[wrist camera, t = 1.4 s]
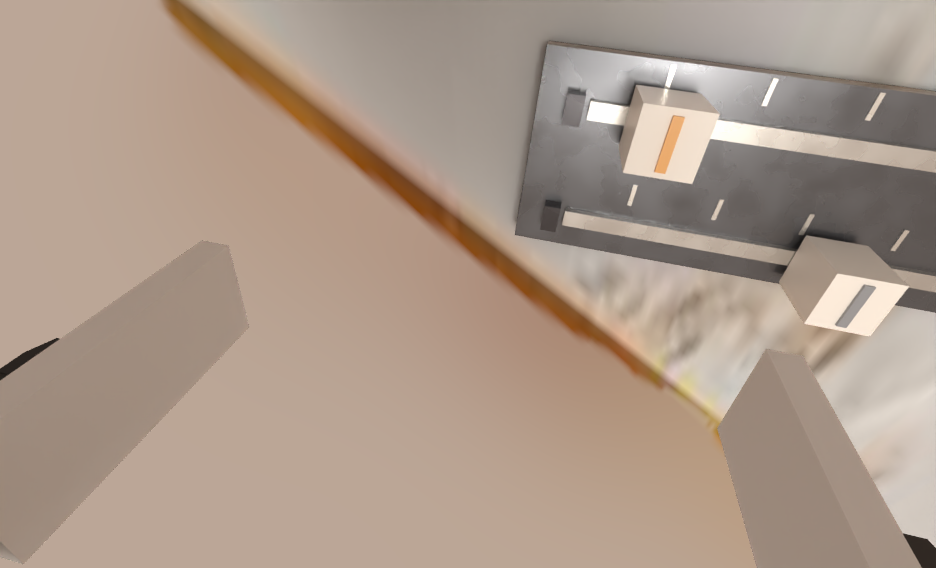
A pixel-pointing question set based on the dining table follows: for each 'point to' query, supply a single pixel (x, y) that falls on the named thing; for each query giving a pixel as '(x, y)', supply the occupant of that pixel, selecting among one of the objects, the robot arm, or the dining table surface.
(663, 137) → the fader
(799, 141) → the console
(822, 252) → the fader
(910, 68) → the dining table surface
